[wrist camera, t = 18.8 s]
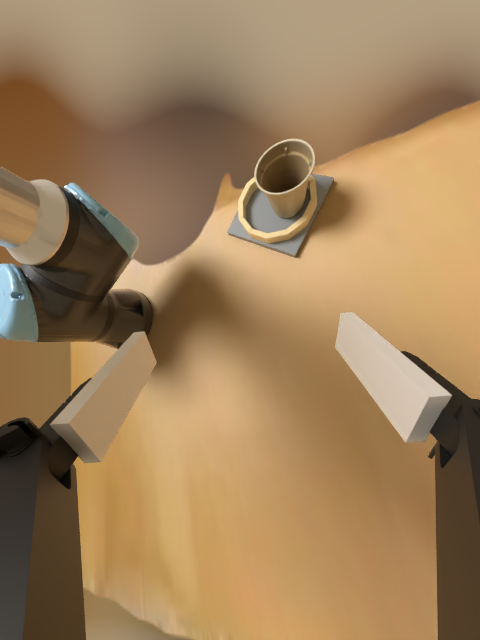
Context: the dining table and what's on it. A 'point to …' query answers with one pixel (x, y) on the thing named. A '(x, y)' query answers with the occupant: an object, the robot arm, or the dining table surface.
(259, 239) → the collar plate
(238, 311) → the dining table surface
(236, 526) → the dining table surface
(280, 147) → the flower pot
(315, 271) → the dining table surface
